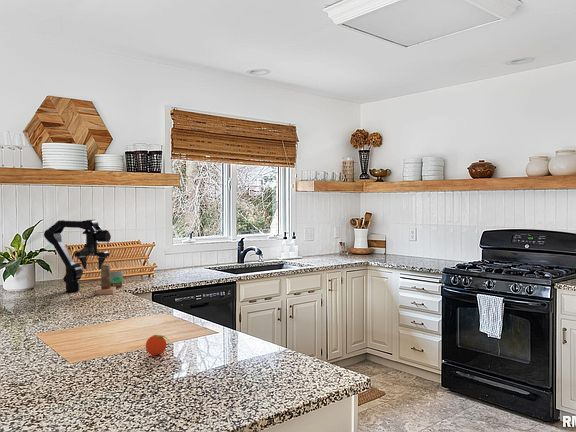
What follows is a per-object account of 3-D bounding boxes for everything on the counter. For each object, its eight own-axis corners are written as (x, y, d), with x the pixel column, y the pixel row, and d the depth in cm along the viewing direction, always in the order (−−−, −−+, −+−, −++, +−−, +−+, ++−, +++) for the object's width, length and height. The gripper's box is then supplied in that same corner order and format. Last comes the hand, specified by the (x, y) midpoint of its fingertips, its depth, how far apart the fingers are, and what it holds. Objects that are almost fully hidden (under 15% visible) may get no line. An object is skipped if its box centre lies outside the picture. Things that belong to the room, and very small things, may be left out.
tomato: (171, 351, 176) (171, 331, 176) (167, 358, 169) (167, 337, 169) (148, 352, 176) (147, 332, 175) (143, 358, 169) (143, 337, 168)
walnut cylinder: (102, 289, 280) (102, 266, 279) (100, 288, 284) (99, 265, 283) (111, 288, 283) (111, 265, 282) (109, 287, 287) (108, 264, 286)
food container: (110, 290, 291) (109, 272, 291) (104, 288, 295) (103, 271, 294) (128, 286, 301) (128, 270, 301) (122, 285, 305) (122, 269, 304)
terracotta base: (96, 294, 278) (96, 290, 278) (99, 291, 287) (99, 287, 287) (113, 293, 279) (112, 289, 279) (116, 290, 288) (115, 286, 288)
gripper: (68, 243, 278) (68, 271, 279) (98, 243, 274) (99, 271, 275) (80, 241, 289) (80, 268, 290) (109, 241, 285) (110, 268, 286)
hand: (92, 269), depth 285 cm, fingers open, 9 cm apart
